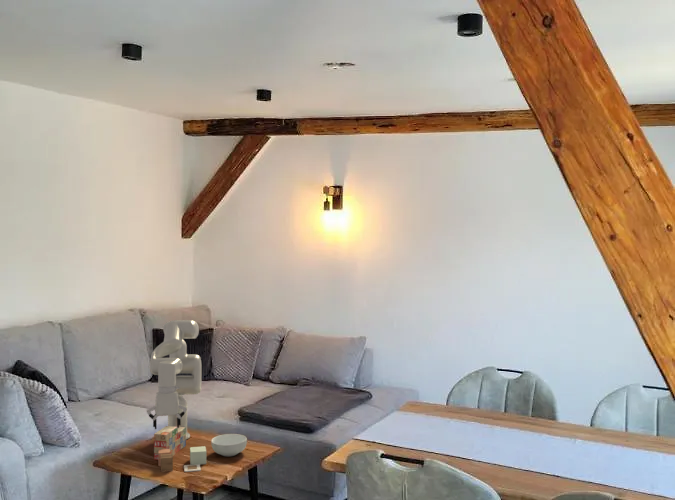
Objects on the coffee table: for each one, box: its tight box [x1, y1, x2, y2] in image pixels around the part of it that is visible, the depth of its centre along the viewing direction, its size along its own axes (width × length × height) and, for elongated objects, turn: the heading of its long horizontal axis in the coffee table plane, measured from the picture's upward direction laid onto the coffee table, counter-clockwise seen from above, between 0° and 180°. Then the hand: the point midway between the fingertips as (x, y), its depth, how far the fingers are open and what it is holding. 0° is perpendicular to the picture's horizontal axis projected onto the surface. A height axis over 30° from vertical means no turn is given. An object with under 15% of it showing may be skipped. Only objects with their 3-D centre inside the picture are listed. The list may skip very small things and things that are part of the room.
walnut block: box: [160, 454, 174, 473], centre depth 292 cm, size 5×5×6 cm
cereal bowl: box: [210, 433, 248, 457], centre depth 313 cm, size 17×17×7 cm
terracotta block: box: [157, 449, 170, 467], centre depth 299 cm, size 5×5×6 cm
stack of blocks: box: [153, 425, 187, 461], centre depth 314 cm, size 21×6×12 cm, turn 168°
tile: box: [183, 464, 202, 473], centre depth 293 cm, size 7×7×1 cm
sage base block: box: [189, 445, 207, 465], centre depth 302 cm, size 7×7×6 cm
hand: (166, 427), depth 292 cm, fingers open, 9 cm apart
